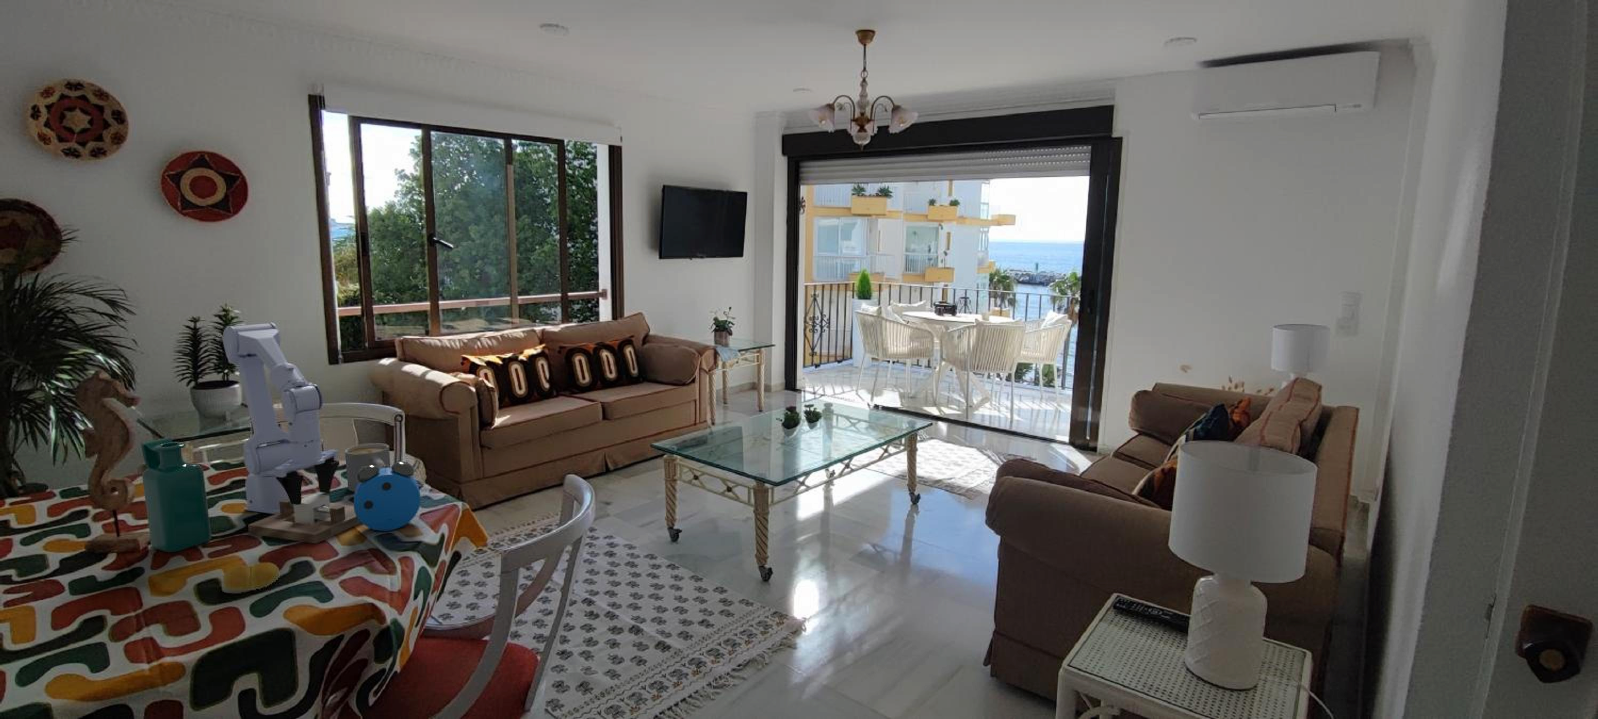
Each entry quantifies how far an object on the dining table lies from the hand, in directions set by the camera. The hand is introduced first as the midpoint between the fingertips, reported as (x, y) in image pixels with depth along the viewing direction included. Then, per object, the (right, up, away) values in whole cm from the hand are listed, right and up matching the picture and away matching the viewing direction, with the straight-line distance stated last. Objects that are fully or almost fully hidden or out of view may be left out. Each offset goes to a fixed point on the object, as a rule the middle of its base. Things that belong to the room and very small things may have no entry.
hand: (310, 497), depth 172 cm
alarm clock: (+17, -7, +1) cm, 19 cm away
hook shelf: (0, -6, +1) cm, 6 cm away
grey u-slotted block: (0, -6, +1) cm, 6 cm away
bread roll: (+6, -12, -27) cm, 30 cm away
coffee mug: (-1, -2, +26) cm, 26 cm away
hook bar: (0, -3, 0) cm, 3 cm away
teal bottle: (-22, -8, -10) cm, 25 cm away
